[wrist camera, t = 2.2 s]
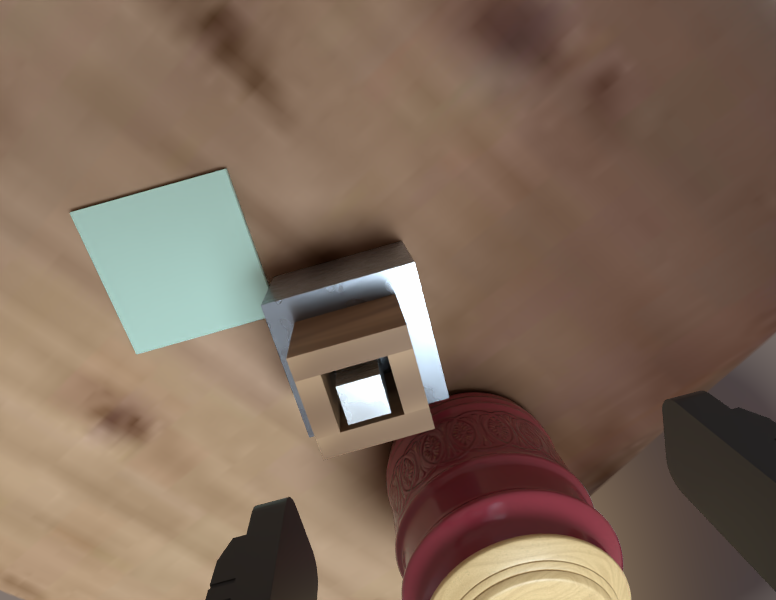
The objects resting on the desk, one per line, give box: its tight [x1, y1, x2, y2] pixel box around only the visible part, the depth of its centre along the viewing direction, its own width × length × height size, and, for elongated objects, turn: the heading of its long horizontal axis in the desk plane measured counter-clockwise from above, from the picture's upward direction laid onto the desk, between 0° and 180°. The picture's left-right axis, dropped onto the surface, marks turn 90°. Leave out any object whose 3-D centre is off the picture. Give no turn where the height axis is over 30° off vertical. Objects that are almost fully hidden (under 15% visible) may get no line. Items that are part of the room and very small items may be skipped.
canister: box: [386, 392, 631, 600], centre depth 32 cm, size 13×13×18 cm
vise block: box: [261, 241, 449, 437], centre depth 30 cm, size 9×9×12 cm
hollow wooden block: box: [286, 294, 435, 460], centre depth 28 cm, size 6×6×5 cm
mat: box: [70, 168, 269, 354], centre depth 33 cm, size 10×10×1 cm
